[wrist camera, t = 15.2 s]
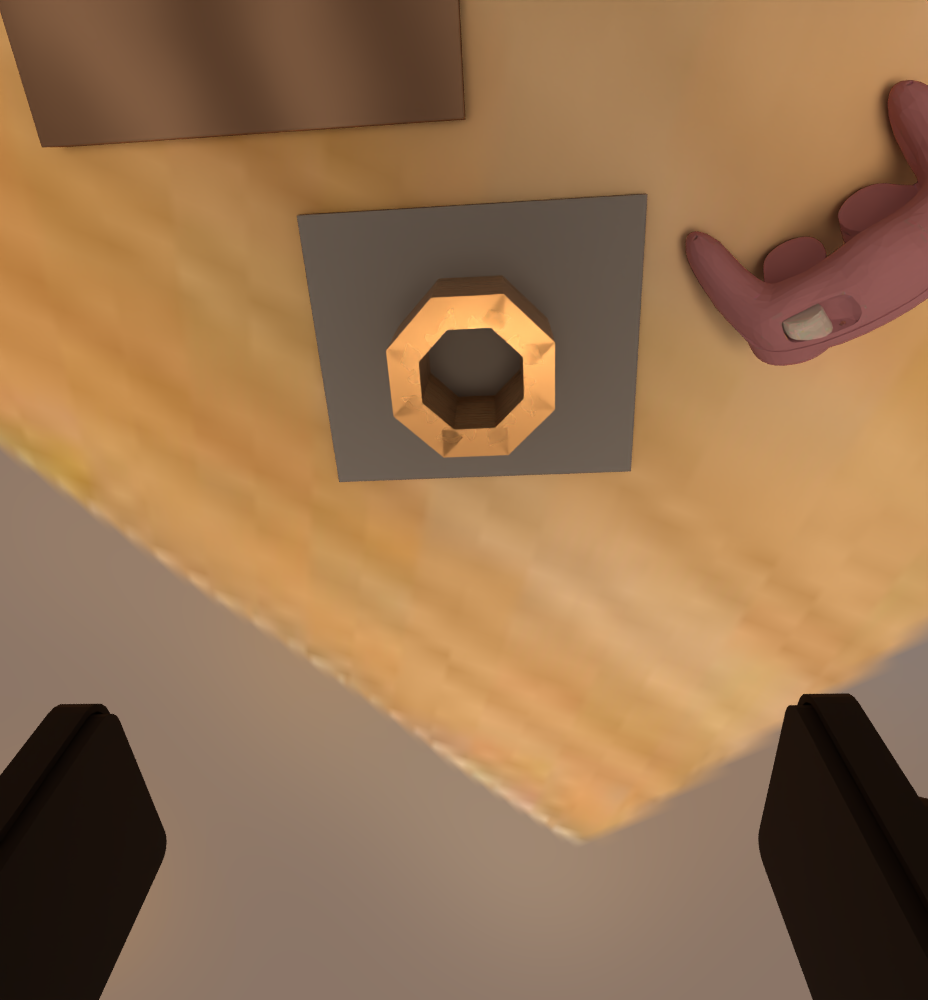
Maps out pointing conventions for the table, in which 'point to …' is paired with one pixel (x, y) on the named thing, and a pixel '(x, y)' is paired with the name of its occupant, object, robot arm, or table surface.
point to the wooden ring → (473, 418)
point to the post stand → (232, 66)
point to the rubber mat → (481, 351)
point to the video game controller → (834, 261)
